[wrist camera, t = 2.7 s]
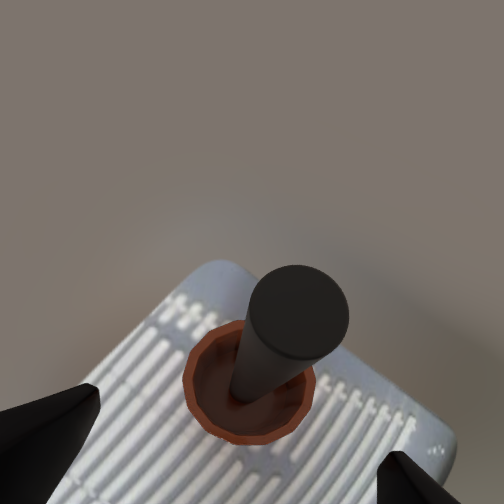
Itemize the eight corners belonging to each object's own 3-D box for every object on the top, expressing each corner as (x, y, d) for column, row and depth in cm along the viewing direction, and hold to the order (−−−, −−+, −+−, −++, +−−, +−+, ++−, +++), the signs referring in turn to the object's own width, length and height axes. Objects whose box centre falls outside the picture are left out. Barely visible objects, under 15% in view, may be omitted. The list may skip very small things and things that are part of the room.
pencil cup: (267, 454, 15) (283, 465, 11) (174, 409, 16) (158, 405, 12) (307, 369, 18) (334, 352, 14) (220, 328, 19) (220, 299, 15)
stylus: (250, 410, 16) (331, 376, 4) (223, 396, 17) (230, 330, 5) (263, 384, 17) (361, 287, 5) (236, 372, 17) (275, 247, 6)
